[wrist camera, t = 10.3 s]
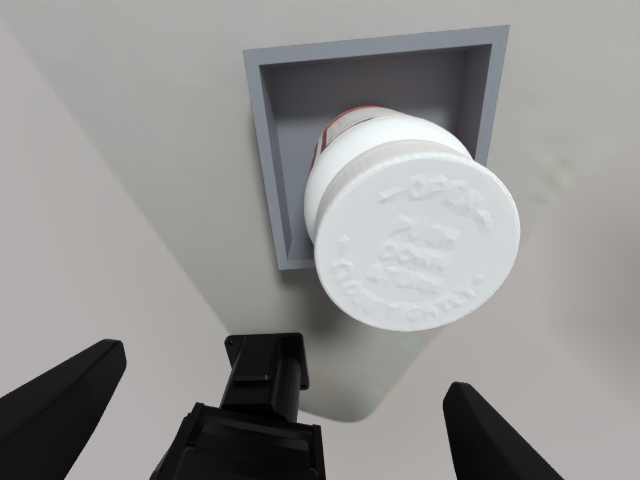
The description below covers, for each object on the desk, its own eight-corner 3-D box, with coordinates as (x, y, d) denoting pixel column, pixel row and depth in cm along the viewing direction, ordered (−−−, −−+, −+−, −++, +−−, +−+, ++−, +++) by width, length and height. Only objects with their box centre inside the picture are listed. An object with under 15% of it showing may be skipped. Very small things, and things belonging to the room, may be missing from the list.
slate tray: (448, 233, 20) (470, 259, 17) (285, 243, 21) (278, 269, 18) (473, 37, 15) (509, 24, 12) (259, 57, 16) (242, 50, 13)
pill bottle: (372, 228, 20) (420, 377, 9) (292, 173, 18) (248, 282, 8) (441, 148, 17) (602, 234, 7) (356, 78, 16) (407, 60, 6)
